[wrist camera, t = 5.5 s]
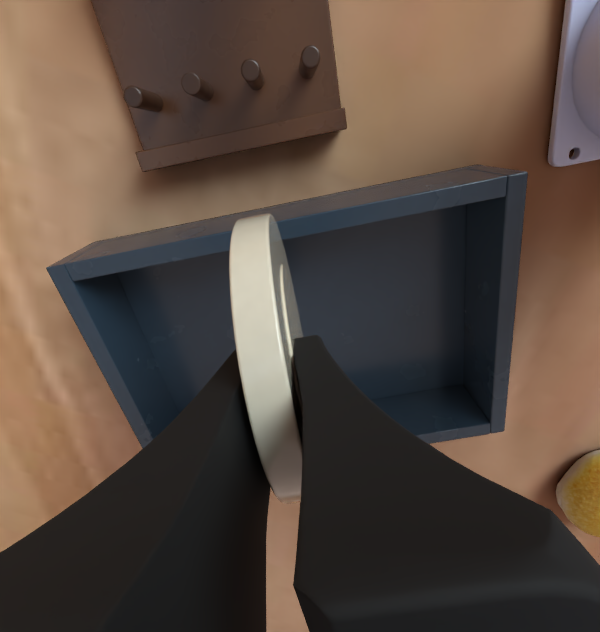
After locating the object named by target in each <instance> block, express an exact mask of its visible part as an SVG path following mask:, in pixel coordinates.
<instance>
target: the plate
mask: <svg viewBox="0 0 600 632" xmlns="http://www.w3.org/2000/svg"><path fill="white" fill-rule="evenodd" d="M229 283H230V300H231V313H232V322H233V331H234V339H235V346H236V353H237V360H238V367H239V372H240V378H241V383H242V389H243V394H244V399H245V403H246V408H247V413H248V417H249V421H250V425H251V429H252V433H253V437H254V441H255V445H256V448H257V451H258V454H259V458H260V461H261V464H262V467H263V469H264V472H265V475H266V477H267V480H268V482H269V484H270V486H271V488H272V491H273V492H274V494H275V495H276V497H277V499H278V500H279V501H281V502H282V503H285V504H291V503H298V502H300V501H301V480H302V449H303V406H302V397H301V391H300V386H299V380H298V375H297V370H296V365H295V359H294V354H293V349H294V340H295V338H301V337H303V333H302V327H301V322H300V317H299V312H298V307H297V302H296V297H295V292H294V287H293V283H292V278H291V274H290V269H289V265H288V261H287V257H286V253H285V249H284V245H283V242H282V238H281V235H280V232H279V229H278V226H277V223H276V221H275V219H274V217H273V216H272V214H269V213H267V214H261V215H256V216H251V217H246V218H241V219H239V220H237V221H236V222H235V224H234V227H233V229H232V234H231V240H230V252H229Z"/></svg>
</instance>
